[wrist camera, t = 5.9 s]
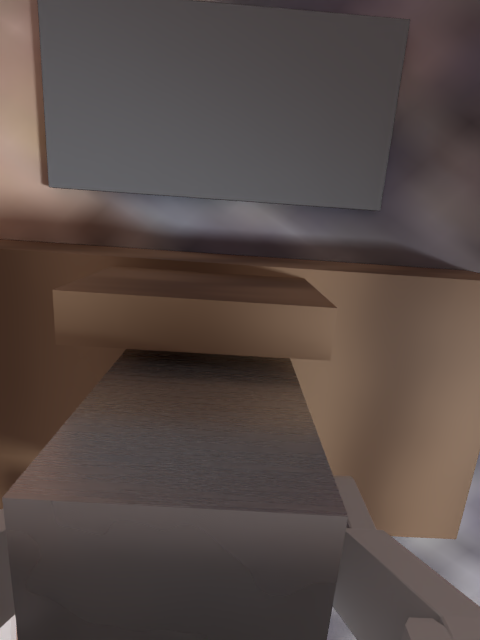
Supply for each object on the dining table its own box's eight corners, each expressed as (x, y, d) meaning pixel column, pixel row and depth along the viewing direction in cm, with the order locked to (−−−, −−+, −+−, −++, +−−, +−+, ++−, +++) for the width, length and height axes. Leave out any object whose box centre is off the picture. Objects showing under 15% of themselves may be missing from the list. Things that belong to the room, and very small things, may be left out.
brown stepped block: (468, 270, 15) (660, 314, 8) (419, 486, 18) (534, 653, 11) (-50, 235, 14) (-302, 253, 8) (-21, 464, 17) (-189, 627, 10)
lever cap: (285, 346, 10) (348, 516, 4) (266, 528, 12) (293, 829, 6) (136, 336, 10) (2, 498, 4) (137, 521, 12) (38, 820, 6)
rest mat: (405, 25, 13) (410, 19, 12) (376, 210, 14) (380, 210, 14) (42, -7, 12) (36, -14, 12) (53, 187, 14) (48, 186, 14)
